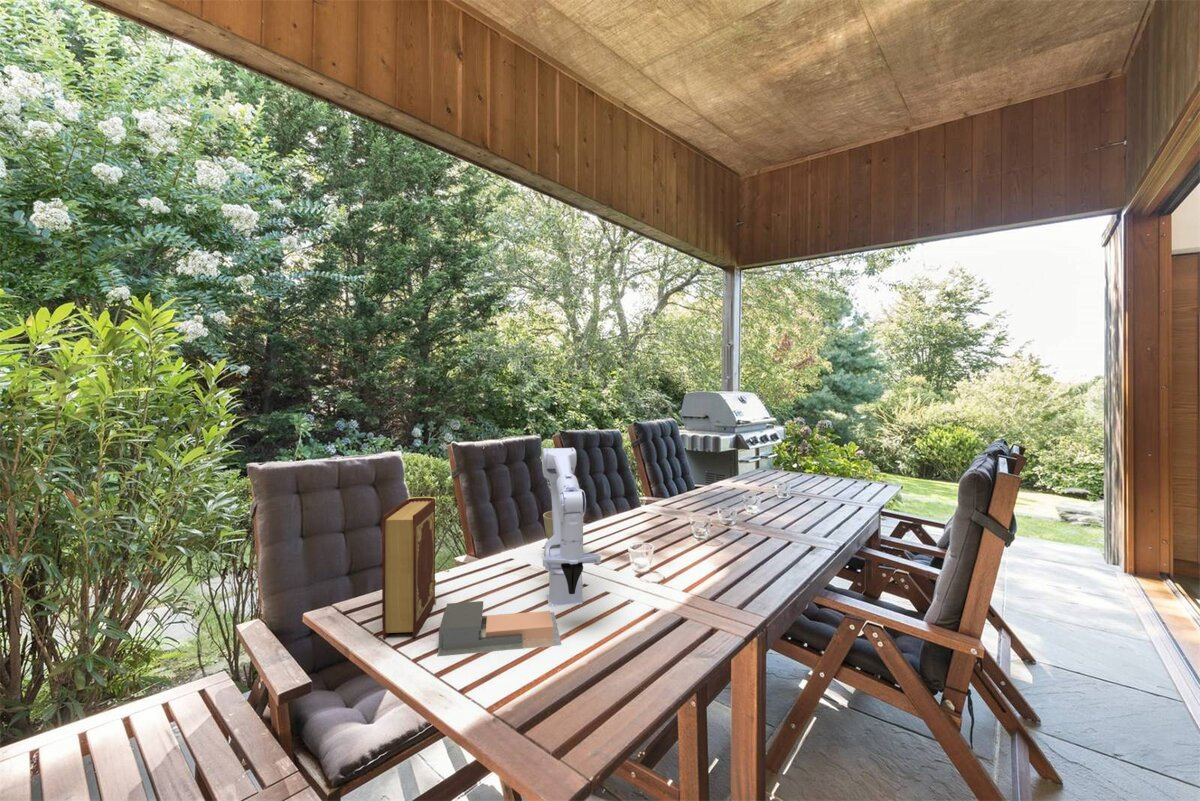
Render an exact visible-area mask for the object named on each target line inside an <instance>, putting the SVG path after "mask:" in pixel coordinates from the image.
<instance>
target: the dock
mask: <svg viewBox="0 0 1200 801" xmlns="http://www.w3.org/2000/svg"><path fill="white" fill-rule="evenodd" d="M483 611H484V600H481V601H480V600H479V601H467V602H466V601H465V602H451V603H450V602H449V603H446V607H445V610H444V611H443V615H442V618H441V621H440V622H441V623H440V626H439V630H438V651H437V653H436V657H446V656H457V655H469V654H479V653H480V654H482V653H492V652H500V651H501V652H502V651H512V650H514V651H515V650H524V649H525V650H526V649H536V648H545V647H557V646H562V641H561V637H560V636H561V635H560V632H559V627H558V623H557V619H556V615H555V612H554V611H553V612H552V611H550V613H551V617H552V622H553V637H541V638H530V639H522V634H515V635H503V636H492V637H486V622H487V616H490V615H491V614H490V615H483V613H484V612H483ZM513 614H515V613H513ZM500 615H503V614H500Z"/></svg>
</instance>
